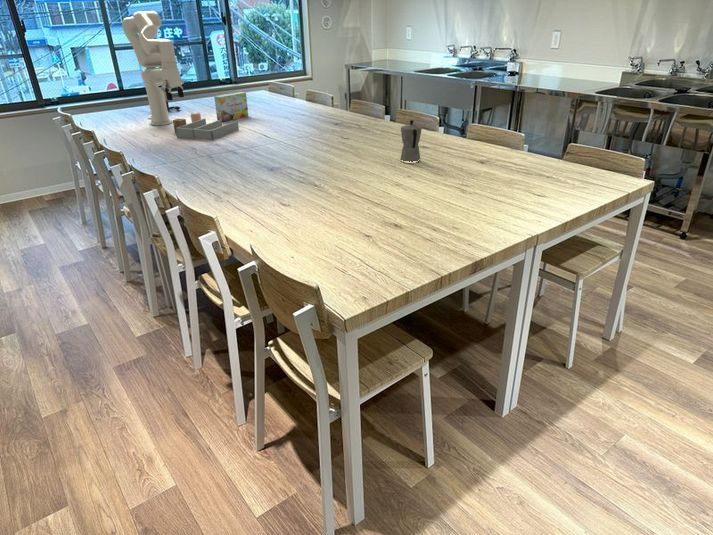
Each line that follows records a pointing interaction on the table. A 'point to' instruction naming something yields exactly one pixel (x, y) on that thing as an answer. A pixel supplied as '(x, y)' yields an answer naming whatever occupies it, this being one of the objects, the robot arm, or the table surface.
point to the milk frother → (167, 102)
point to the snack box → (231, 106)
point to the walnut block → (178, 123)
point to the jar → (195, 116)
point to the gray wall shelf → (206, 130)
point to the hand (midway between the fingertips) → (175, 98)
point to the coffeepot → (410, 142)
